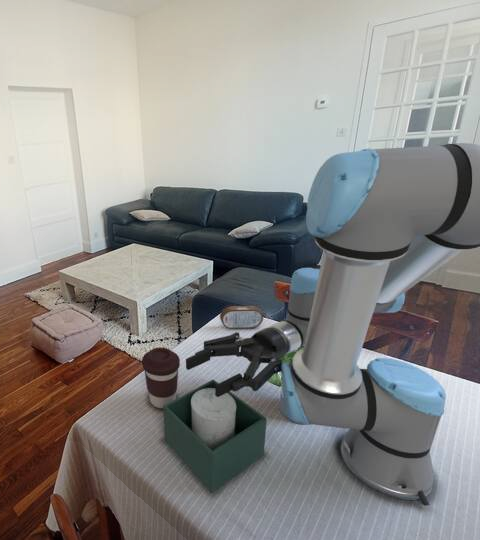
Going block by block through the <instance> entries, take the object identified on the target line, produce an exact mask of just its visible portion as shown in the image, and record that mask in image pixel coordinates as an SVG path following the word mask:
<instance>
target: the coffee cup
mask: <svg viewBox="0 0 480 540" xmlns="http://www.w3.org/2000/svg"><path fill="white" fill-rule="evenodd" d="M141 366H142V369H143V371H144V377H145V382H146V383H145V384H146V389H147V392H148V398H149V402H150V404H151V405H152V406H153V407H154V408H158V409H163V406H164V405H166V404H168V403H170V402H172V401H173V400H175V399H177V390H178V379H179V369H180V366H181V361H180V356H179V355H178V354H177V353H176V352H175V351H173V350H171V349H170V348H167V347H162V346H161V347H160V346H159V347H154V348H152V349H150V350H148V352H146V353H145V354H144V355H143V356H142V358H141Z"/></svg>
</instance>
